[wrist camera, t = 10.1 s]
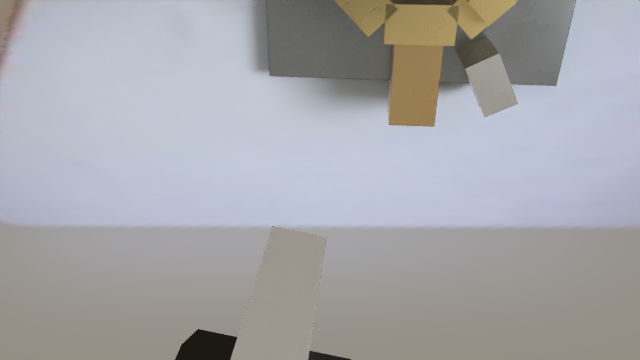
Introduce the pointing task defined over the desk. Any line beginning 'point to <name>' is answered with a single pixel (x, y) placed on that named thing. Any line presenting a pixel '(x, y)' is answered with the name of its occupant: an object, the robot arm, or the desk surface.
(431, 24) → the octagonal block ring
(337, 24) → the grey base plate
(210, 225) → the desk surface
